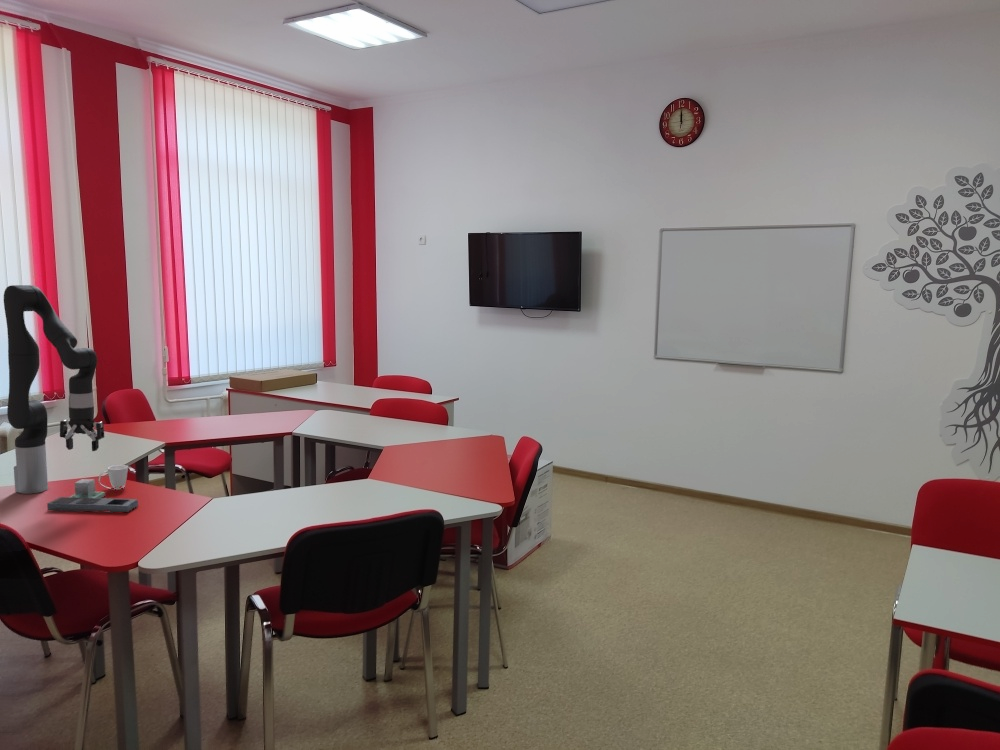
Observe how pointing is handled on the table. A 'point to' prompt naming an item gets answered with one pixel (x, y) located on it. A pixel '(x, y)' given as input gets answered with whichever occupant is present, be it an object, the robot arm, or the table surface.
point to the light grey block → (85, 488)
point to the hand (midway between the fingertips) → (82, 449)
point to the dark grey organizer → (92, 504)
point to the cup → (116, 476)
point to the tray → (97, 495)
